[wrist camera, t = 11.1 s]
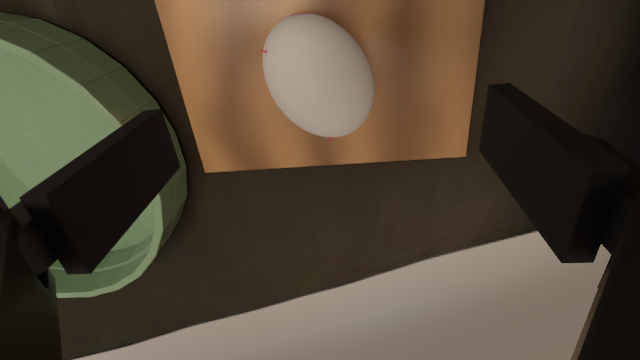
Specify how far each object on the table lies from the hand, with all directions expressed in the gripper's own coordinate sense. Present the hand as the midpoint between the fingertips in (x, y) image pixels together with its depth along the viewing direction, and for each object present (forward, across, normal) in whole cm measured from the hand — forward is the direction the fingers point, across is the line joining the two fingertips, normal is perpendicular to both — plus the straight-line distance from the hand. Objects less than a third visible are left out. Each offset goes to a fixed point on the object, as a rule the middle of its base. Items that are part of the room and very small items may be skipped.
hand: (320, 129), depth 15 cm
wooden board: (+11, 0, 0) cm, 11 cm away
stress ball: (+10, -1, 0) cm, 11 cm away
